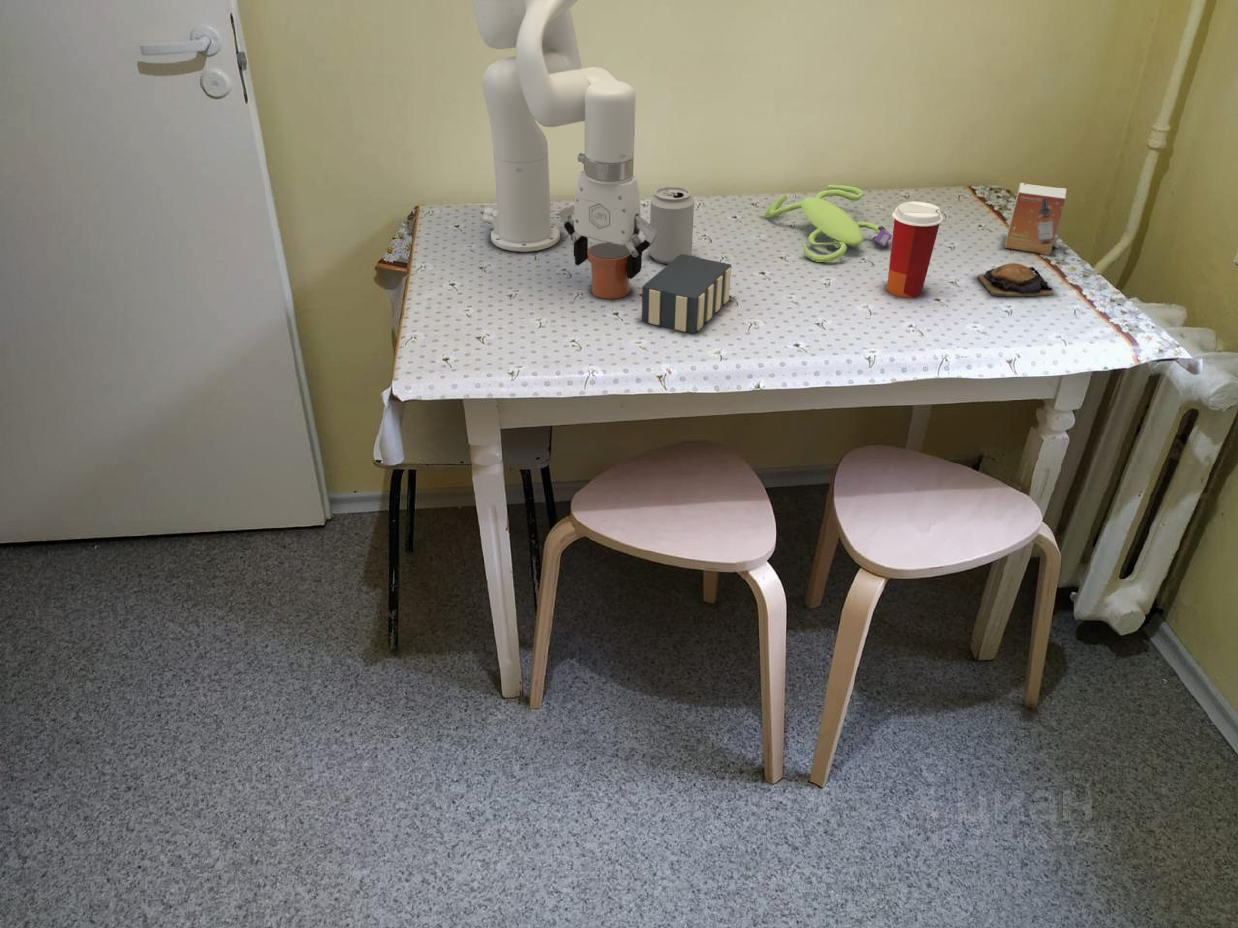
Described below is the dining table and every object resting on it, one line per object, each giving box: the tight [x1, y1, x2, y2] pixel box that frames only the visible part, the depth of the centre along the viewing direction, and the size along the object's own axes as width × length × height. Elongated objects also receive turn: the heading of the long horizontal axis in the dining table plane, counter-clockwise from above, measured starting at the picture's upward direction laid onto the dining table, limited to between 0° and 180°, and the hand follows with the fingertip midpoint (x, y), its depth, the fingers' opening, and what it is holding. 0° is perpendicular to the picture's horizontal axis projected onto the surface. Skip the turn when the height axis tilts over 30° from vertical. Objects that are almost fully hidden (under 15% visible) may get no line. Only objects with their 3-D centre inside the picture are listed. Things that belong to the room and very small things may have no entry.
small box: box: [1004, 182, 1068, 256], centre depth 177 cm, size 8×6×10 cm
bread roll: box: [977, 262, 1054, 298], centre depth 165 cm, size 11×8×4 cm
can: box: [649, 185, 695, 265], centre depth 172 cm, size 8×8×12 cm
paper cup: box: [886, 201, 944, 298], centre depth 160 cm, size 8×8×14 cm
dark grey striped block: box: [641, 254, 732, 335], centre depth 157 cm, size 9×14×6 cm, turn 152°
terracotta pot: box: [587, 242, 631, 300], centre depth 162 cm, size 7×7×7 cm
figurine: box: [764, 184, 893, 263], centre depth 183 cm, size 18×27×6 cm
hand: (607, 268), depth 163 cm, fingers open, 9 cm apart
